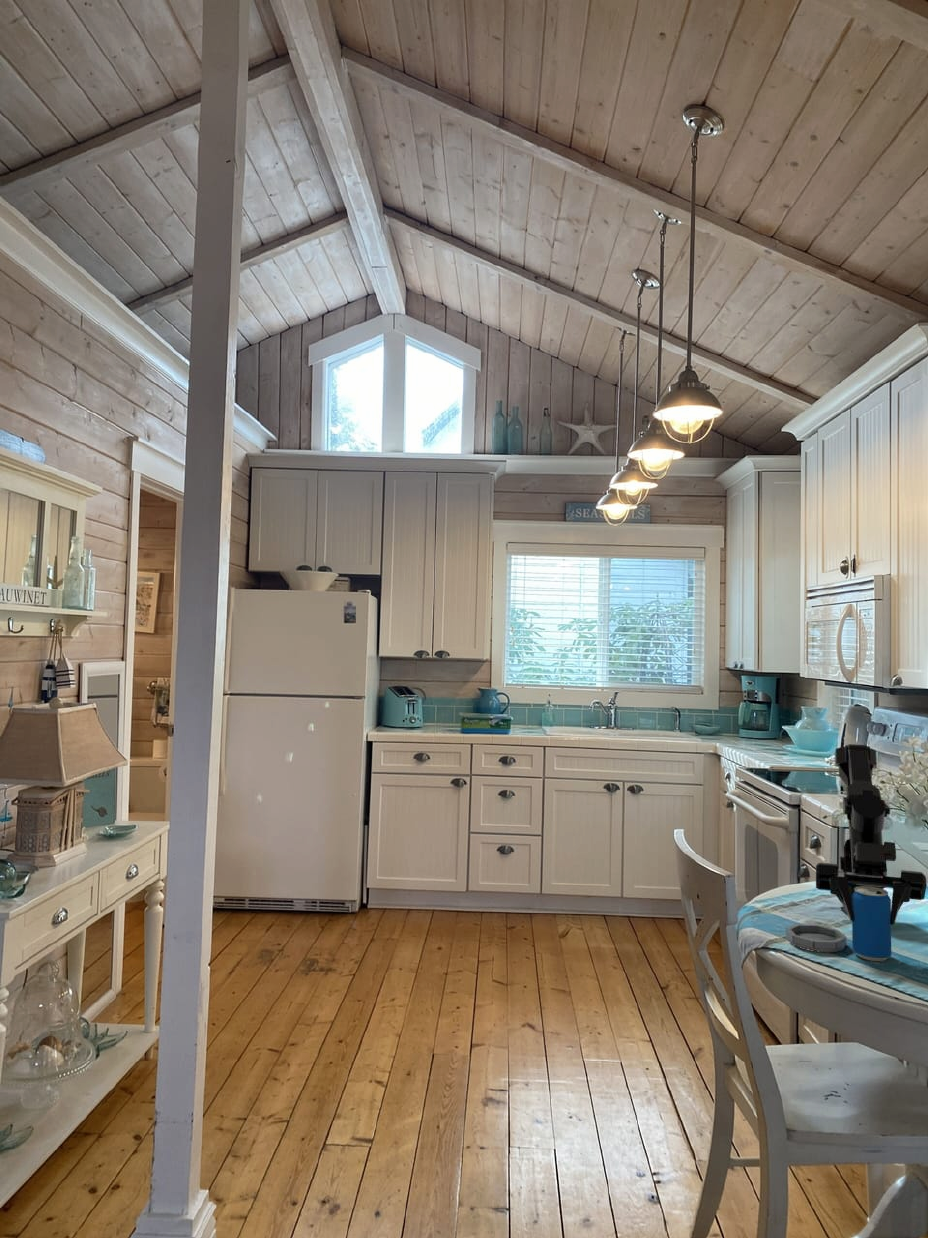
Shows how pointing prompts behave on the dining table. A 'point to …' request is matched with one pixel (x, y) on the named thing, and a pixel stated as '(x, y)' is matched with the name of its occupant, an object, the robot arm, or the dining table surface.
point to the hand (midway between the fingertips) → (872, 922)
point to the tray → (816, 937)
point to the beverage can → (871, 923)
